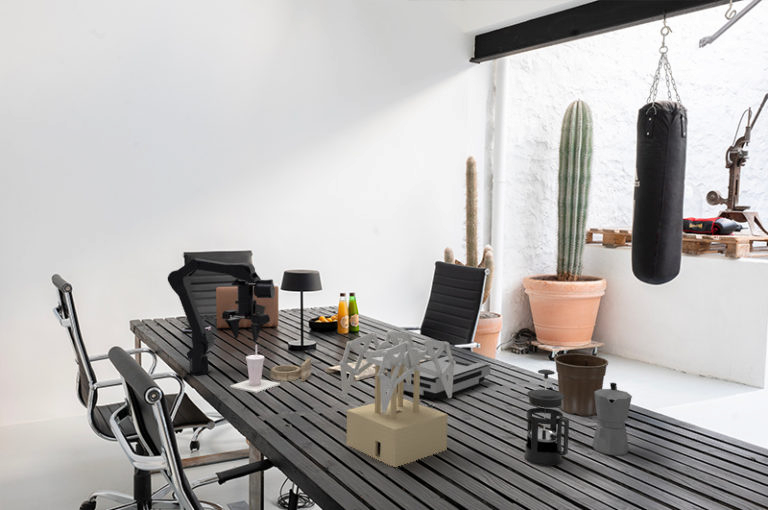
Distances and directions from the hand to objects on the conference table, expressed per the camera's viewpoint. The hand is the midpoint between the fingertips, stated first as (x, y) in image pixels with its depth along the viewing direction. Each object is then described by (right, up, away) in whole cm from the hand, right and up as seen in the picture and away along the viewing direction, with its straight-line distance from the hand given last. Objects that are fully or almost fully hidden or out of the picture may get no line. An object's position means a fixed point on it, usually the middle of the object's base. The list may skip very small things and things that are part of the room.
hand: (245, 339), depth 243 cm
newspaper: (+47, -13, +14) cm, 51 cm away
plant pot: (+112, -18, -34) cm, 118 cm away
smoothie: (+6, -14, -13) cm, 20 cm away
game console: (+70, -16, -11) cm, 73 cm away
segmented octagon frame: (+16, -13, -1) cm, 21 cm away
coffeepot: (+111, -21, -66) cm, 131 cm away
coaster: (+6, -14, -13) cm, 20 cm away
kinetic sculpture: (+54, -20, -67) cm, 88 cm away
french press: (+91, -21, -74) cm, 120 cm away
